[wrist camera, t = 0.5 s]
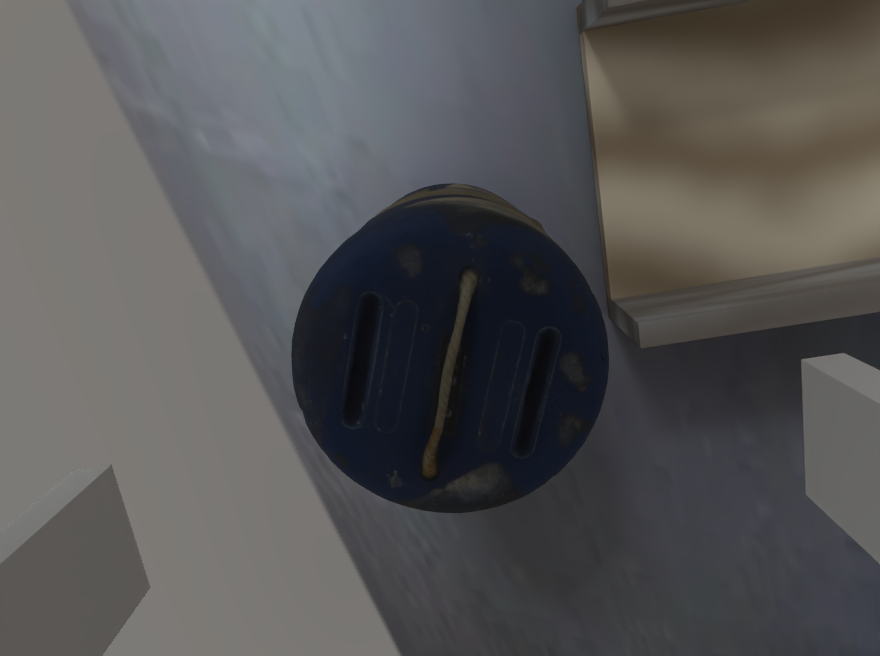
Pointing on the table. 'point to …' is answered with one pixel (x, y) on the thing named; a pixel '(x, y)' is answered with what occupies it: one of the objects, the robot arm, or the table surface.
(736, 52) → the keeper cradle
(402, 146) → the table surface
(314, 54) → the table surface
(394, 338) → the canister
